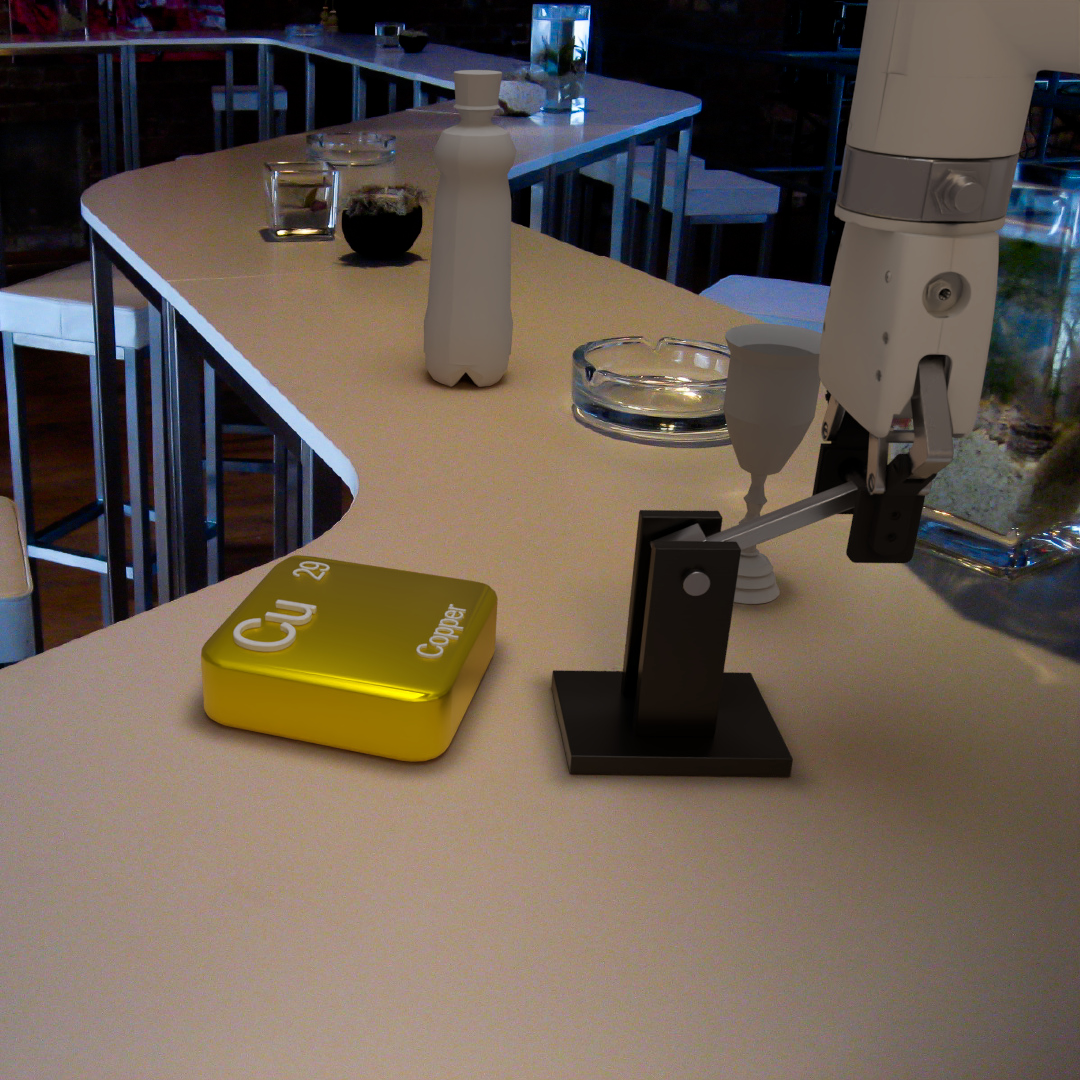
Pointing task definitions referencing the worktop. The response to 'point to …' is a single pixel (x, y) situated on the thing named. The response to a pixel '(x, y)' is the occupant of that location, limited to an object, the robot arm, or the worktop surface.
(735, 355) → the chalice
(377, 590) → the element tile
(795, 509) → the lever
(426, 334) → the bottle
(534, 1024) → the worktop surface
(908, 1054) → the worktop surface
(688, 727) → the bracket
